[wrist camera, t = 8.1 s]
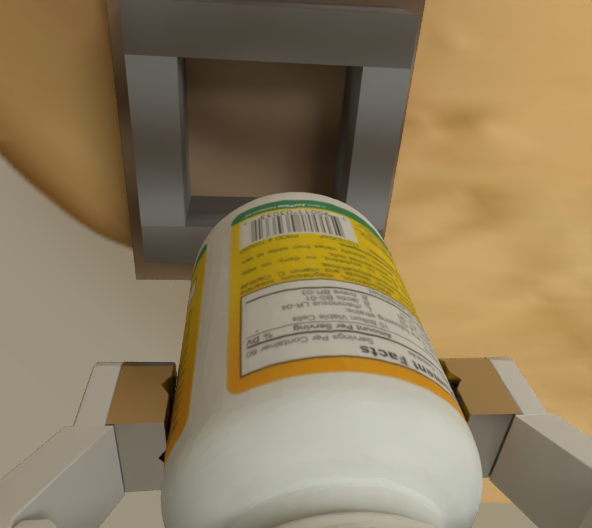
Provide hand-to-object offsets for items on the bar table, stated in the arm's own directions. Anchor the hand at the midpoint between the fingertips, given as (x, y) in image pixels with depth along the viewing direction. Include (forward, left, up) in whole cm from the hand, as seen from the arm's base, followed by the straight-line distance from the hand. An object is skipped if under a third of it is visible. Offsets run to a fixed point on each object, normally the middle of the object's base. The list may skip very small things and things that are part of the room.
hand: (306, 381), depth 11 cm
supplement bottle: (0, 0, -4) cm, 4 cm away
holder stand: (0, 0, -19) cm, 19 cm away
